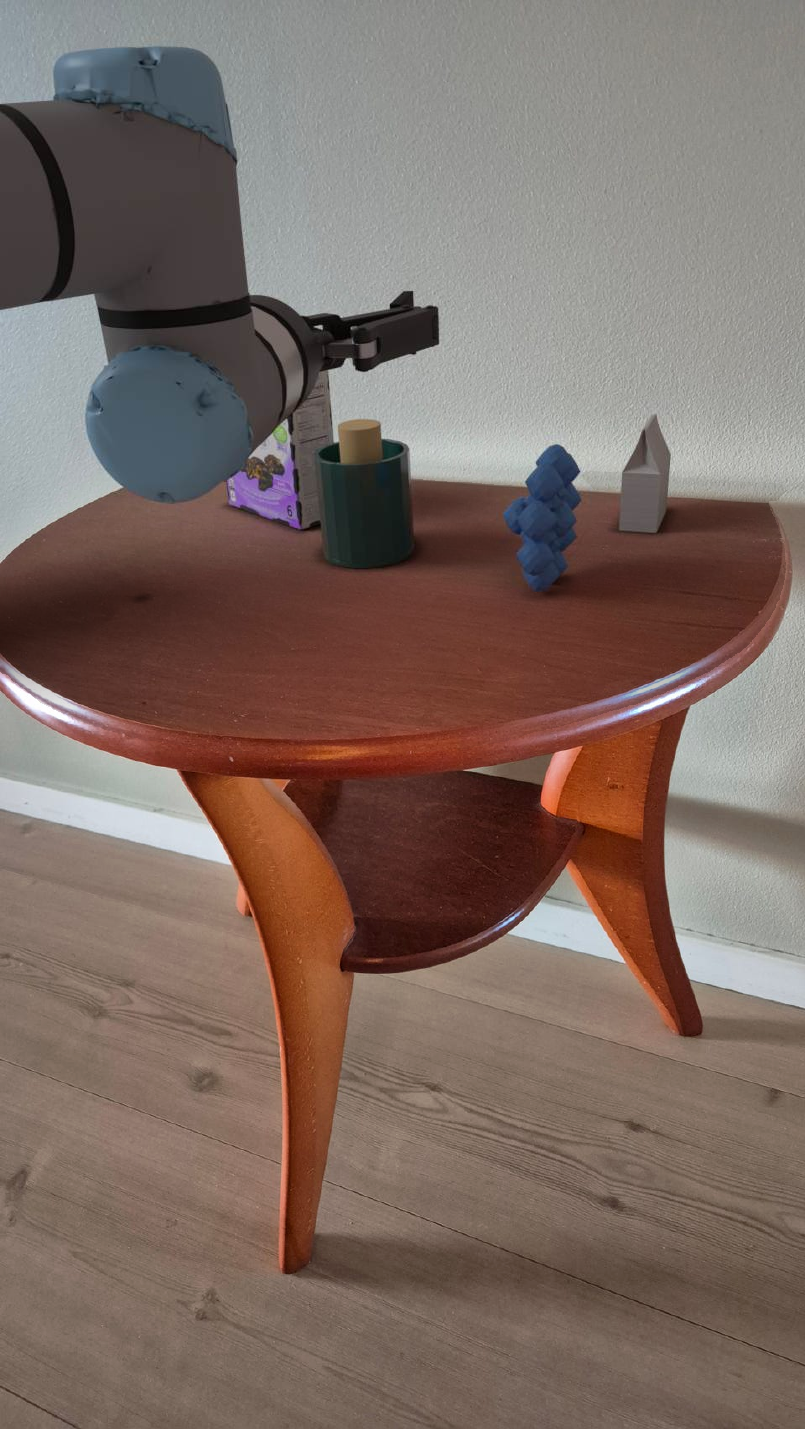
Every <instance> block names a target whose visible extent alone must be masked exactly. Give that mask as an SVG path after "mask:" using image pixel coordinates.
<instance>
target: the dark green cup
mask: <svg viewBox="0 0 805 1429" xmlns="http://www.w3.org/2000/svg"><path fill="white" fill-rule="evenodd" d="M382 453H383V460H381V461H376V462H368V463H341V459H340V448H339V441H336V442H335V441H334V443H331V444H328V445H325V446H323V447H321V448H319V449H317V450H316V451H315V452H314V454H313V457H314V467H315V477H316V486H317V496H318V506H319V516H320V524H319V526H320V535H321V544H322V545H321V546H322V552H323V558H324V559H325V560H326V561H327V562H329V563H331V564H333V565H336V566H339V567H343V568H350V569H373V568H381V567H386V566H391V565H394V564H397V563H400V562H402V561H404V560H406V559H407V558H409V557H411V555H412V554H413V553H414V551H415V530H414V527H415V526H414V511H413V510H414V509H413V508H414V507H413V490H412V473H411V470H412V469H411V455H410V454H411V452H410V447H409V445H408V444H407V443H404V442H402V441H399V440H395V439H391V438H382Z"/></svg>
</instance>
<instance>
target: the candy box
mask: <svg viewBox="0 0 805 1429" xmlns="http://www.w3.org/2000/svg"><path fill="white" fill-rule="evenodd" d="M332 414H333V413H332V401H331V390H330V378H329V370H326V371H321V372H319V375H318V378H317V380H316V383H315V386H314V388H313V390H312V392H311V393H310V395H309V396H308V398H307V399H306V400H305V402H304V403H303V404H302V405H301V406H300V407H299V408H298V409H297V410H296V411H295V412H294V413H293V414H292V415H291V416H289V417H288V418H287V419H286V420H284V421H283V422H282V423H281V424H280V425H279V426H278V427H277V428H276V429H275V430H274V432H273V433H272V434H271V435H270V436H269V437H268V438H267V439H266V440H265V441H264V442H263V443H261V444H260V445H259V446H258V447H257V448H256V450H255V451H254V452H253V453H252V454H251V455H250V456H249V458H248V460H247V461H245V462H244V463H245V465H244V466H243V468H242V469H241V470H240V471H239V472H238V473H237V474H236V475H235V476H233V477H231V478H230V479H229V480H227V481H226V482H225V483H226V489H227V498H228V504H229V505H230V506H232V507H235V508H238V509H242V510H244V511H247V512H249V513H251V514H252V513H253V514H255V515H258V516H260V517H264V518H266V519H269V520H272V521H275V522H277V523H280V524H283V525H286V526H289V527H292V528H294V529H297V530H300V531H301V530H305V529H309V528H312V527H314V526H318V525H320V516H319V506H318V496H317V486H316V477H315V467H314V457H313V454H314V452H315V451H316V450H317V449H319V448H321V447H323V446H325V445H328V444H331V443H335V439H334V427H333V415H332Z"/></svg>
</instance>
